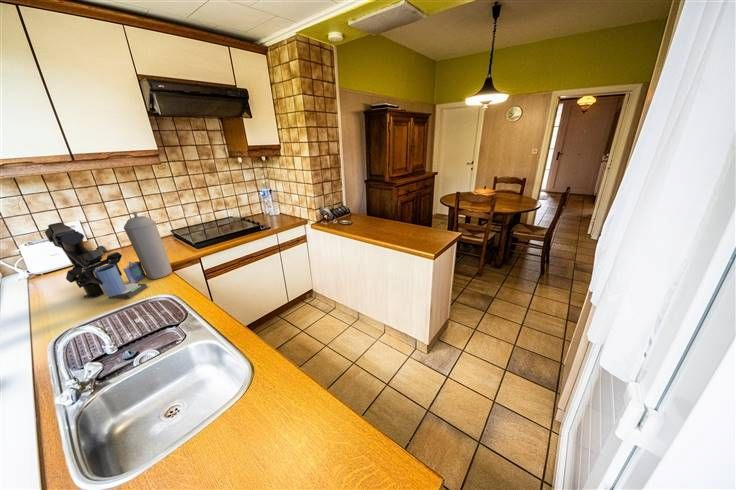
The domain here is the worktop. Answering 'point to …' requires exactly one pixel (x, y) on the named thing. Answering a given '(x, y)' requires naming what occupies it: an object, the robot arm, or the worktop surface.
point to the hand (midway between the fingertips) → (112, 279)
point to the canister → (148, 246)
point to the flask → (134, 272)
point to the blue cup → (110, 280)
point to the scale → (131, 290)
